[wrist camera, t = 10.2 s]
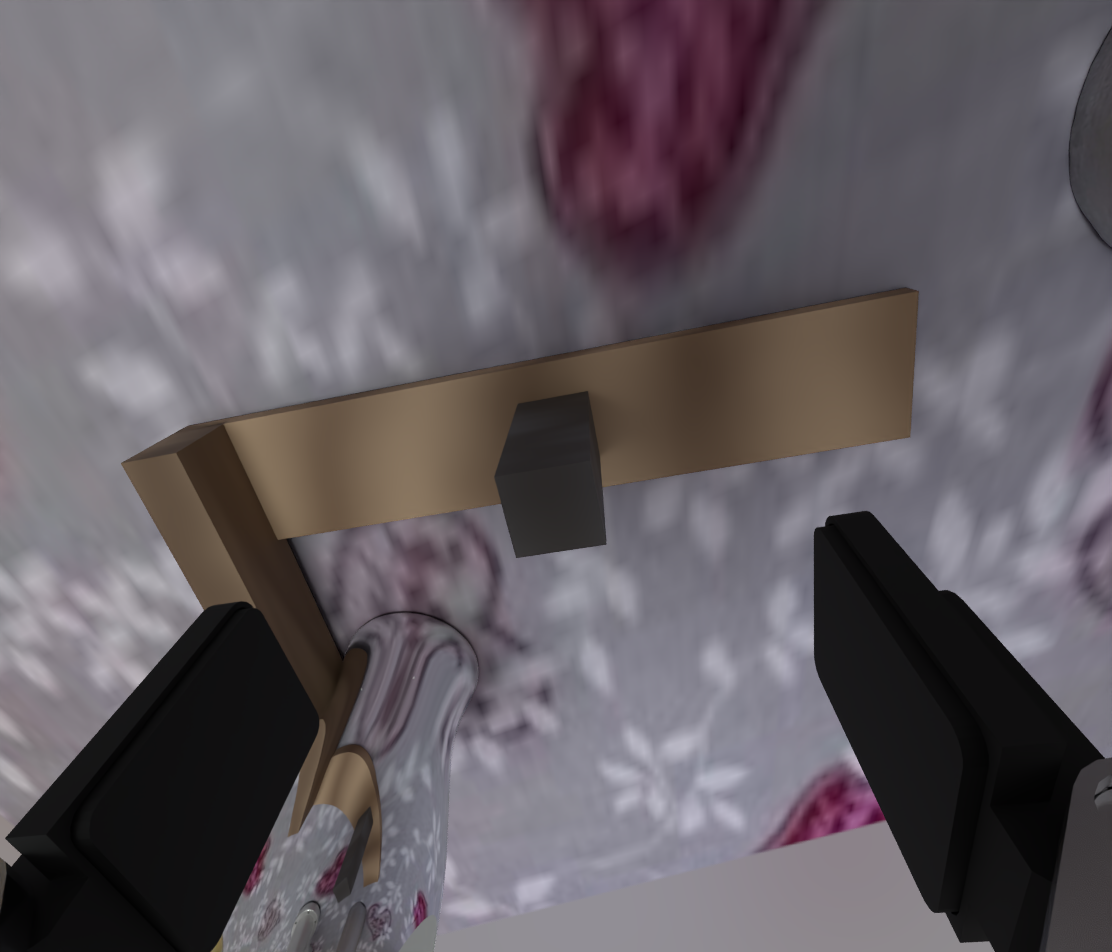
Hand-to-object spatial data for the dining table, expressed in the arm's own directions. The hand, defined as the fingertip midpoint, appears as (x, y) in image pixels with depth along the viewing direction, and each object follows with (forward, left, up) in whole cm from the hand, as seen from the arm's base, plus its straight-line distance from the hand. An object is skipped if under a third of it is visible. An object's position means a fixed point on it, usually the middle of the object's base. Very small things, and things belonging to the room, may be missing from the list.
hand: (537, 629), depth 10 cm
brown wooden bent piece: (+1, +7, -12) cm, 14 cm away
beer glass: (+9, +11, -13) cm, 19 cm away
